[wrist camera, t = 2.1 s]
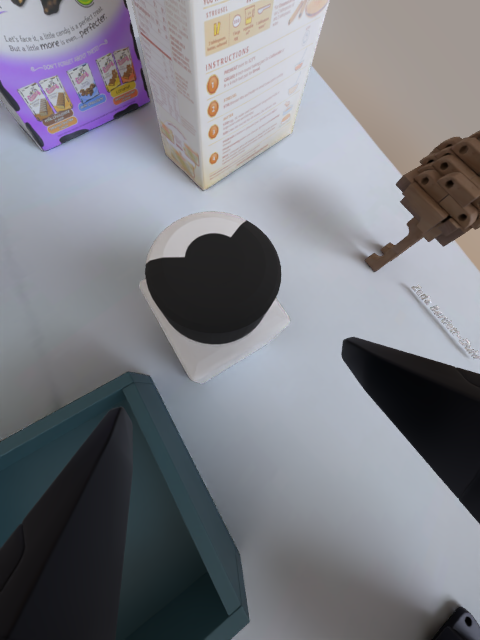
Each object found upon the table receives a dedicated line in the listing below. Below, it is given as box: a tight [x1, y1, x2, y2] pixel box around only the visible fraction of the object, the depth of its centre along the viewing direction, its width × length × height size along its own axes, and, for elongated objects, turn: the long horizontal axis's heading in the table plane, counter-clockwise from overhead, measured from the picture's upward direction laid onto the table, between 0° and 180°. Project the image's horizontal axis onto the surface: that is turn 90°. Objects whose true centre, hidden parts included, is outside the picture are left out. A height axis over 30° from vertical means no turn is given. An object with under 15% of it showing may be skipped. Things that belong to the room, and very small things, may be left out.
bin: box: [0, 372, 250, 640], centre depth 14 cm, size 15×15×5 cm
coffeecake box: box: [132, 0, 330, 191], centre depth 19 cm, size 15×7×20 cm, turn 134°
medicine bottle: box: [139, 211, 290, 384], centre depth 15 cm, size 7×7×12 cm
